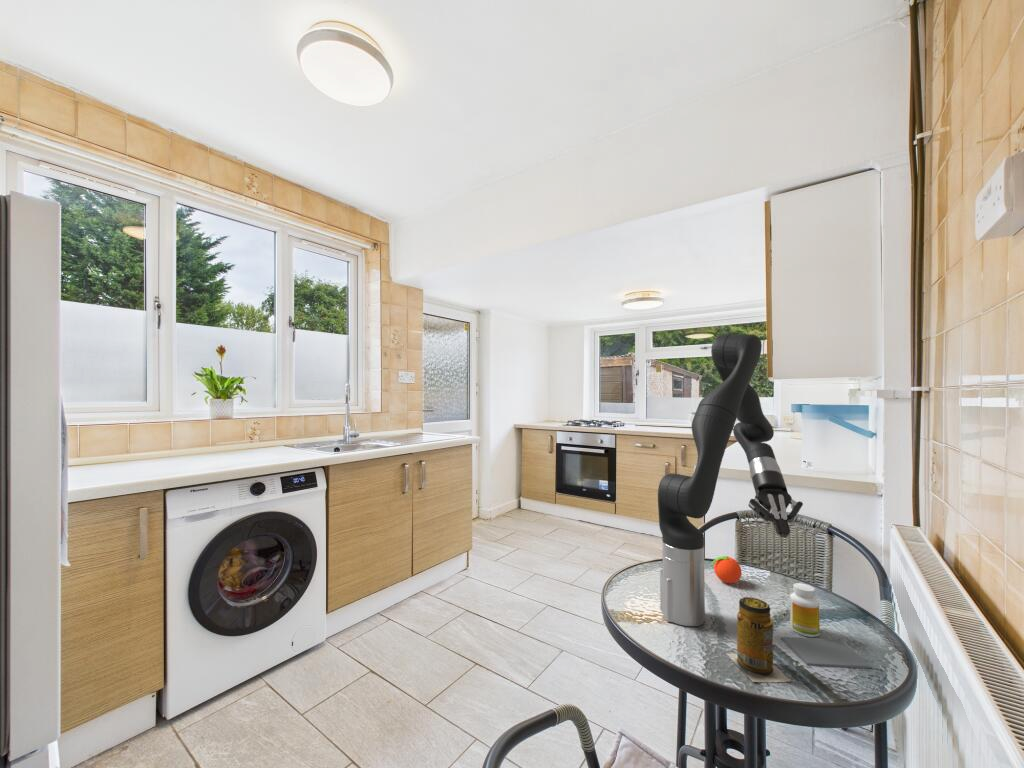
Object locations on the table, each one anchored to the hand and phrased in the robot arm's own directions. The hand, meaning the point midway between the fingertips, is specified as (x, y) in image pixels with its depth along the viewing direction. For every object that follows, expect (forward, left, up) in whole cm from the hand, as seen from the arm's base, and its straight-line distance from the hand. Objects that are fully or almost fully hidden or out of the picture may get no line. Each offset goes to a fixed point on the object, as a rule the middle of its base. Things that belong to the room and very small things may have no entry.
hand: (784, 535), depth 105 cm
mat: (-3, -19, -17) cm, 26 cm away
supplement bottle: (-2, -11, -18) cm, 21 cm away
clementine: (-9, +13, -18) cm, 24 cm away
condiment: (-19, -25, -18) cm, 36 cm away
